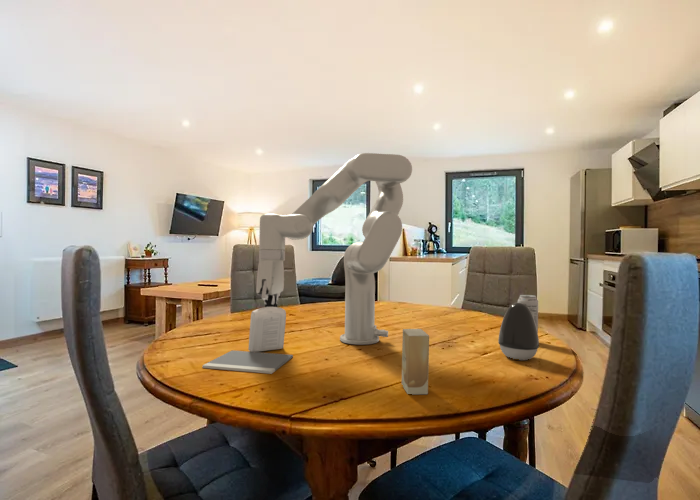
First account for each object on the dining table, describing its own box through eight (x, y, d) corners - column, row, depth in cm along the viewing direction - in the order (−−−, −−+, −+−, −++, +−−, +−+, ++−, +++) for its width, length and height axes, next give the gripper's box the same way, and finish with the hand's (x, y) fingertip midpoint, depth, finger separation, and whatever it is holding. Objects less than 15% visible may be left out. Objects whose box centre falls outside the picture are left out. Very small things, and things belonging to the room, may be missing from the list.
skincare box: (400, 384, 83) (401, 328, 83) (420, 383, 83) (421, 328, 83) (407, 395, 76) (408, 334, 76) (429, 395, 77) (429, 334, 76)
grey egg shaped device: (544, 357, 105) (544, 302, 105) (531, 365, 97) (532, 306, 97) (506, 350, 112) (507, 299, 112) (492, 357, 104) (493, 302, 104)
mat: (292, 357, 102) (292, 354, 102) (271, 373, 88) (271, 371, 88) (231, 352, 106) (231, 350, 106) (202, 367, 92) (202, 365, 92)
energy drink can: (538, 341, 123) (539, 295, 123) (536, 345, 118) (537, 297, 118) (518, 338, 127) (519, 294, 126) (515, 342, 121) (516, 295, 121)
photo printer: (280, 343, 114) (282, 303, 112) (285, 349, 110) (288, 308, 108) (246, 348, 108) (248, 306, 106) (251, 354, 104) (253, 311, 103)
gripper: (270, 255, 120) (269, 312, 120) (248, 255, 106) (247, 321, 106) (293, 255, 119) (292, 314, 119) (273, 256, 104) (272, 323, 104)
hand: (271, 317), depth 112 cm, fingers closed
